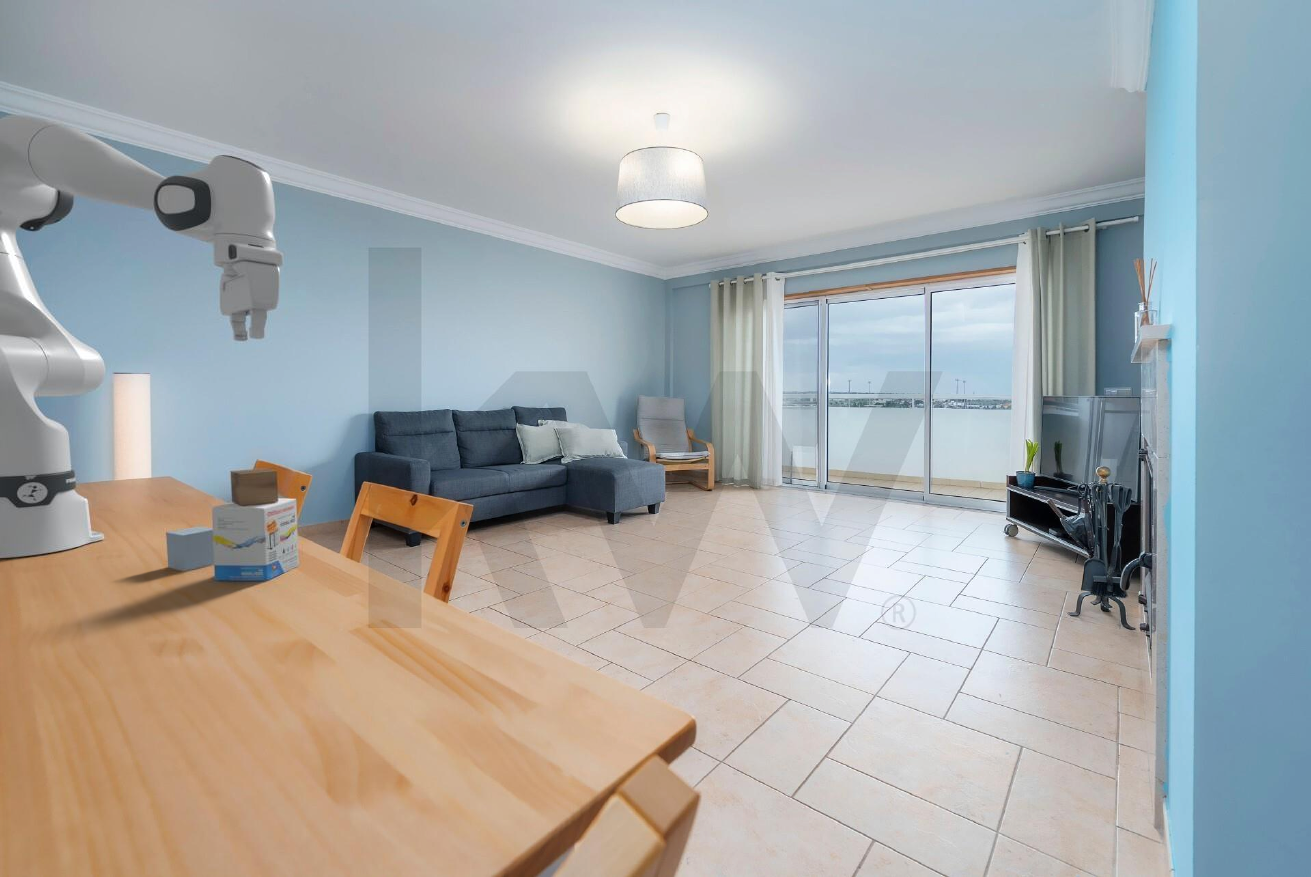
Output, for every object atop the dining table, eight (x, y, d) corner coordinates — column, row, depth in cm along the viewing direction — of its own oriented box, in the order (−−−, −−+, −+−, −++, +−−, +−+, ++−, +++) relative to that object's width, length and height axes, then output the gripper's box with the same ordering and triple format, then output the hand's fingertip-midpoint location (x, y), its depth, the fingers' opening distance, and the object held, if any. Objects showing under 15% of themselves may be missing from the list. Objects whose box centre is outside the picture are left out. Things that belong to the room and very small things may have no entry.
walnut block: (232, 502, 95) (230, 471, 94) (267, 497, 99) (266, 468, 98) (241, 506, 92) (239, 474, 91) (278, 501, 95) (276, 470, 95)
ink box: (267, 581, 92) (263, 507, 91) (213, 581, 92) (209, 506, 91) (301, 565, 100) (298, 497, 99) (251, 565, 100) (248, 496, 100)
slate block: (168, 567, 99) (166, 532, 98) (201, 560, 103) (199, 526, 103) (184, 571, 97) (182, 535, 96) (218, 563, 101) (216, 529, 101)
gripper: (207, 262, 105) (210, 340, 107) (240, 245, 92) (243, 335, 93) (249, 268, 110) (251, 343, 111) (286, 253, 97) (289, 338, 98)
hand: (248, 339), depth 102 cm, fingers open, 8 cm apart
